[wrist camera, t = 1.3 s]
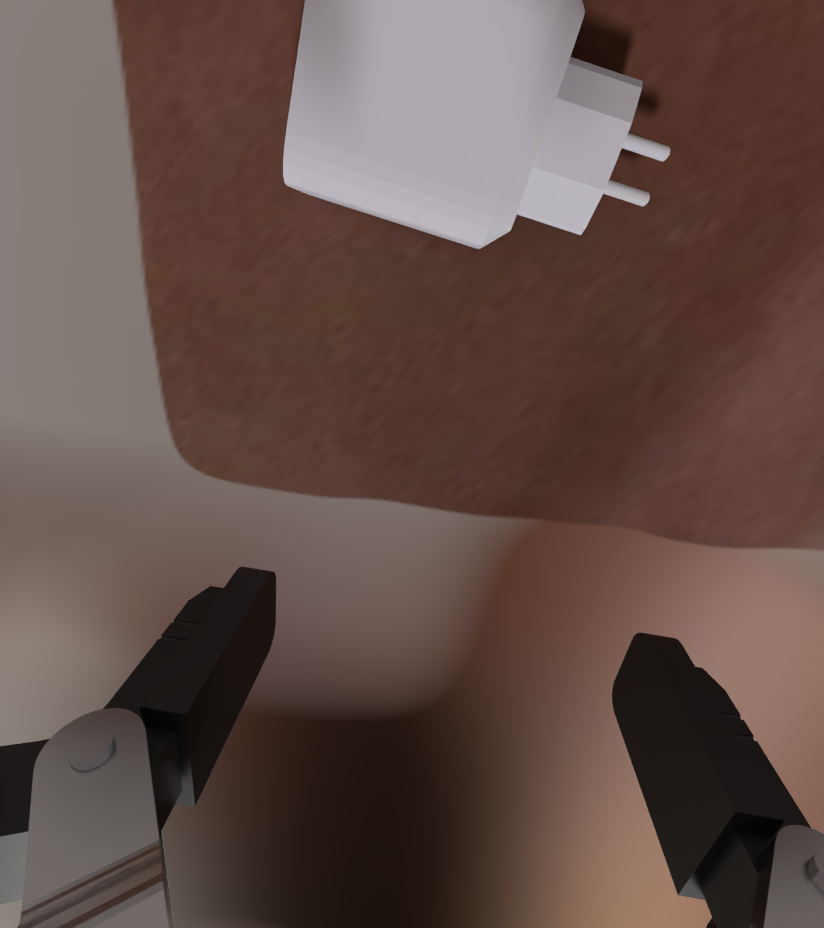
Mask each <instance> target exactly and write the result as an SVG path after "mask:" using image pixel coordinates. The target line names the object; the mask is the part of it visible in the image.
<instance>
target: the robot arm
mask: <svg viewBox="0 0 824 928" xmlns="http://www.w3.org/2000/svg"><path fill="white" fill-rule="evenodd" d="M275 625H276V575H275V573H274V572H271V571H265V570H259V569H252V568H247V567H240V568H239V569H237V570H236V572H235V573H234V575H233V576H232V577H231V579H230V580H229V582H228V583H227V585H226V586H225V587H224V588H219V587H213V586H210V587H209V588H207V589H206V590H204V591H202V592H201V593H200V594H198V595H196V596H195V597H193V598H192V599H190V600H189V601H188V602H187V603H186V605H185V606H184V607H183V609H182V610H181V612H180V613H179V614H178V615H177V616H176V618H175V619H174V622H173V623H171V624H170V625H169V626H168V628H167V629H166V630H165V631H164V633H163V634H162V637H161V639H158V640H157V642H156V643H155V644H154V646H153V647H152V648H151V650H150V651H149V652H148V653H147V654H146V656H145V657H144V658H143V659H142V661H141V662H140V663H139V665H138V666H137V667H136V669H135V670H134V671H133V672H132V674H131V675H130V676H129V678H128V679H127V680H126V681H125V682H124V684H123V685H122V686H121V687H120V689H119V690H118V691H117V693H116V694H115V695H114V697H113V698H112V699H111V700H110V702H109V703H108V704H107V705H106V706H105V707H104V708H103V709H100V710H97V711H93V712H91V713H88V714H85V715H83V716H81V717H79V718H77V719H75V720H73V721H72V722H70V723H68V724H67V725H65V726H64V727H63V728H61V729H60V730H59V731H58V732H57V733H56V734H54V735H53V736H52V737H51V738H50V739H47V740H42V741H37V742H30V743H22V744H15V745H7V746H1V747H0V904H4V903H8V902H13V901H17V900H21V899H23V902H22V911H21V918H20V923H19V926H18V928H174V925H173V917H172V909H171V902H170V894H169V886H168V878H167V871H166V863H165V855H164V847H163V839H162V832H161V830H162V828H163V827H164V825H165V823H166V821H167V819H168V817H169V815H170V813H171V811H172V809H173V807H174V805H175V803H177V804H183V805H188V806H196V804H197V802H198V800H199V797H200V795H201V793H202V791H203V789H204V787H205V785H206V783H207V781H208V778H209V777H210V774H211V772H212V770H213V768H214V766H215V764H216V762H217V759H218V758H219V755H220V754H221V751H222V749H223V747H224V745H225V743H226V741H227V739H228V737H229V735H230V733H231V731H232V728H233V726H234V724H235V722H236V720H237V718H238V716H239V714H240V711H241V709H242V707H243V705H244V703H245V701H246V699H247V697H248V695H249V693H250V691H251V689H252V687H253V684H254V682H255V680H256V678H257V676H258V674H259V672H260V670H261V668H262V666H263V663H264V661H265V659H266V657H267V655H268V653H269V650H270V647H271V645H272V641H273V637H274V631H275ZM612 691H613V692H612V702H613V709H614V713H615V715H616V718H617V721H618V724H619V727H620V730H621V733H622V736H623V739H624V742H625V744H626V747H627V750H628V753H629V756H630V759H631V762H632V765H633V767H634V770H635V773H636V776H637V778H638V782H639V785H640V787H641V790H642V793H643V796H644V799H645V801H646V805H647V807H648V810H649V813H650V816H651V819H652V822H653V824H654V827H655V830H656V833H657V836H658V839H659V842H660V845H661V847H662V850H663V853H664V856H665V859H666V862H667V864H668V867H669V870H670V873H671V876H672V879H673V882H674V885H675V888H676V890H677V893H678V895H681V896H686V897H692V898H698V899H703V900H706V902H707V905H708V908H709V910H710V913H711V915H712V918H711V920H710V921H709V922H708V924H707V926H706V928H824V834H822V833H820V832H818V831H817V830H814V829H811V827H810V826H809V824H808V822H807V821H806V819H805V818H804V816H803V814H802V813H801V811H800V810H799V808H798V806H797V805H796V803H795V802H794V800H793V798H792V797H791V795H790V794H789V792H788V790H787V789H786V787H785V786H784V784H783V782H782V781H781V779H780V777H779V776H778V774H777V773H776V771H775V769H774V768H773V766H772V765H771V763H770V762H769V760H768V758H767V757H766V755H765V754H764V752H763V750H762V749H761V747H760V746H759V744H758V742H757V741H754V739H753V734H752V733H751V731H750V730H749V728H748V726H747V725H746V723H745V722H744V720H741V719H740V714H739V712H738V710H737V709H736V707H735V705H734V704H733V702H732V701H731V699H730V698H729V696H728V694H727V693H726V691H725V690H724V689H723V688H722V687H721V686H720V685H719V684H718V683H717V682H716V681H715V680H714V679H713V678H712V677H711V676H710V675H708V673H707V672H706V671H705V670H704V669H703V668H698V667H695V666H694V664H693V663H692V661H691V659H690V658H689V656H688V654H687V653H686V651H685V649H684V647H683V646H682V644H681V643H680V642H679V641H678V640H677V639H675V638H670V637H664V636H658V635H652V634H645V633H637V634H636V635H635V636H634V637H633V639H632V641H631V644H630V646H629V648H628V651H627V653H626V655H625V658H624V660H623V662H622V665H621V667H620V669H619V672H618V674H617V676H616V679H615V681H614V685H613V690H612Z"/></svg>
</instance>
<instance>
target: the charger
mask: <svg viewBox="0 0 824 928" xmlns="http://www.w3.org/2000/svg"><path fill="white" fill-rule="evenodd" d="M584 14H585V9H584V5H583V2H582V0H305V5H304V12H303V19H302V26H301V33H300V40H299V47H298V54H297V61H296V67H295V74H294V81H293V88H292V95H291V102H290V109H289V116H288V123H287V130H286V138H285V146H284V159H283V176H284V182H285V184H286V185H287V186H289V187H292V188H294V189H296V190H299V191H301V192H303V193H306V194H308V195H312V196H315V197H318V198H321V199H324V200H327V201H330V202H333V203H336V204H339V205H343V206H346V207H349V208H352V209H355V210H358V211H361V212H364V213H367V214H371V215H374V216H377V217H380V218H383V219H386V220H389V221H392V222H395V223H398V224H402V225H405V226H408V227H411V228H414V229H417V230H420V231H423V232H426V233H430V234H433V235H436V236H439V237H442V238H445V239H448V240H451V241H454V242H458V243H461V244H464V245H467V246H470V247H473V248H476V249H480V248H482V247H484V246H486V245H487V244H489V243H491V242H492V241H494V240H496V239H497V238H499V237H501V236H502V235H504V234H506V233H507V232H509V231H510V230H511V228H512V226H513V223H514V220H515V218H516V215H517V214H518V215H521V216H524V217H527V218H530V219H533V220H536V221H539V222H542V223H545V224H548V225H551V226H554V227H557V228H561V229H564V230H567V231H570V232H573V233H576V234H579V235H581V234H582V233H583V231H584V230H585V228H586V226H587V225H588V223H589V221H590V219H591V217H592V215H593V213H594V211H595V209H596V207H597V205H598V203H599V201H600V199H601V197H602V195H603V194H606V195H609V196H612V197H615V198H618V199H621V200H625V201H628V202H631V203H634V204H637V205H640V206H645V205H646V204H647V203H648V201H649V199H650V194H649V193H648V192H644V191H641V190H638V189H635V188H632V187H629V186H626V185H623V184H620V183H617V182H614V181H611V180H609V178H610V176H611V173H612V171H613V168H614V166H615V164H616V161H617V159H618V156H619V154H620V151H621V149H622V148H623V149H626V150H629V151H632V152H635V153H638V154H641V155H644V156H647V157H650V158H653V159H656V160H659V161H664V160H666V159H667V157H668V156H669V154H670V147H668V146H665V145H662V144H659V143H656V142H653V141H650V140H647V139H644V138H641V137H638V136H635V135H632V134H629V133H628V131H629V129H630V126H631V124H632V121H633V117H634V114H635V111H636V107H637V104H638V100H639V97H640V93H641V90H642V81H640V80H637V79H634V78H632V77H629V76H626V75H623V74H620V73H617V72H614V71H611V70H608V69H605V68H602V67H599V66H596V65H593V64H590V63H587V62H584V61H581V60H578V59H575V58H573V57H570V56H571V54H572V51H573V48H574V45H575V42H576V39H577V36H578V33H579V30H580V27H581V24H582V21H583V18H584Z"/></svg>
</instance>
